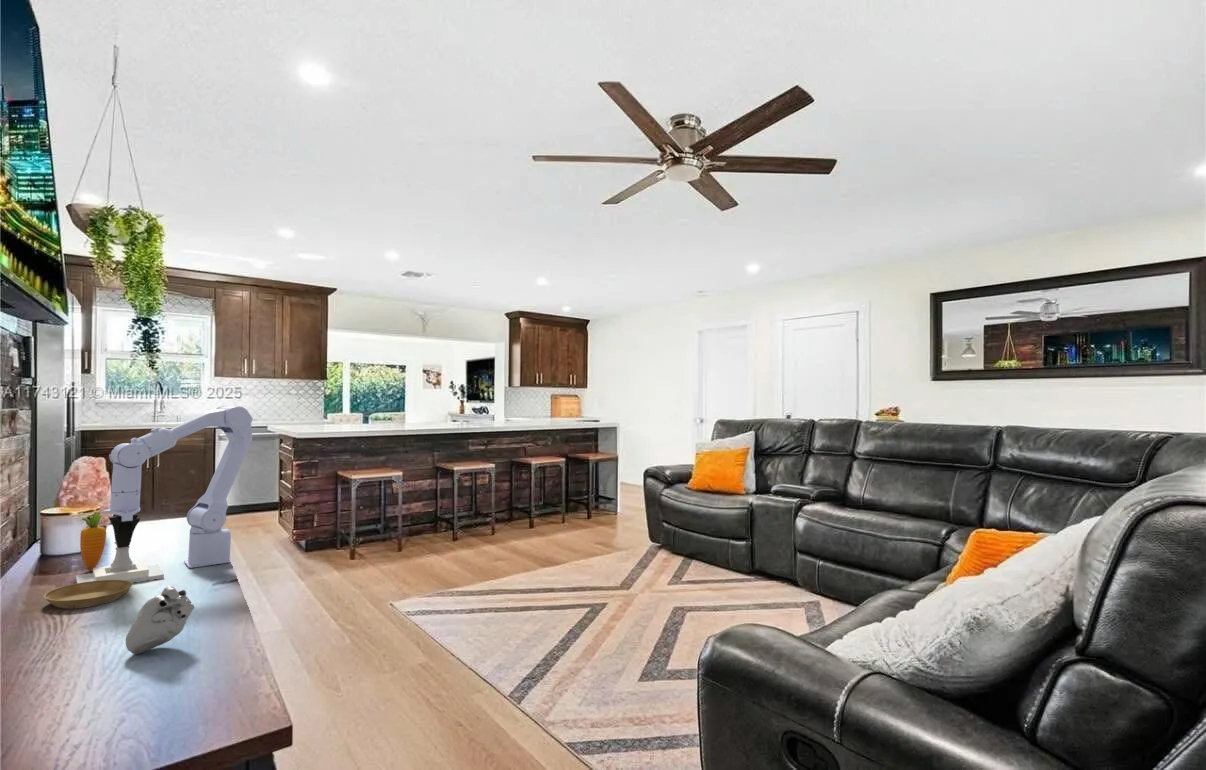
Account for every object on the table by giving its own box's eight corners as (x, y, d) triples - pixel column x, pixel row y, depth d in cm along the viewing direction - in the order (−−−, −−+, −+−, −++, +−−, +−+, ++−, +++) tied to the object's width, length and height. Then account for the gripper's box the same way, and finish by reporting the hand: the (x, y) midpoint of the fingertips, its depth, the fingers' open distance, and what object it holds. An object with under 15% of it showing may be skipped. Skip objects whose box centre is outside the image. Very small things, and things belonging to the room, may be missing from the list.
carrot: (91, 573, 146) (95, 514, 146) (72, 573, 146) (76, 514, 146) (108, 568, 151) (112, 511, 151) (90, 567, 151) (94, 510, 151)
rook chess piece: (137, 568, 144) (139, 536, 144) (119, 573, 140) (120, 540, 140) (123, 566, 145) (125, 535, 145) (104, 571, 141) (106, 539, 141)
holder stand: (157, 567, 152) (158, 558, 152) (163, 578, 144) (164, 568, 144) (76, 579, 141) (76, 569, 141) (77, 591, 132) (78, 580, 133)
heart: (184, 630, 111) (174, 571, 110) (205, 642, 106) (195, 580, 104) (119, 657, 103) (108, 594, 101) (138, 672, 97) (127, 605, 96)
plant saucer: (128, 586, 138) (129, 575, 138) (135, 602, 127) (135, 590, 127) (43, 599, 127) (43, 587, 127) (42, 618, 117) (43, 605, 117)
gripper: (102, 489, 146) (99, 542, 145) (107, 496, 135) (103, 553, 135) (138, 486, 151) (135, 538, 150) (144, 493, 140) (141, 549, 140)
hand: (122, 545), depth 143 cm, fingers closed on rook chess piece, 3 cm apart
